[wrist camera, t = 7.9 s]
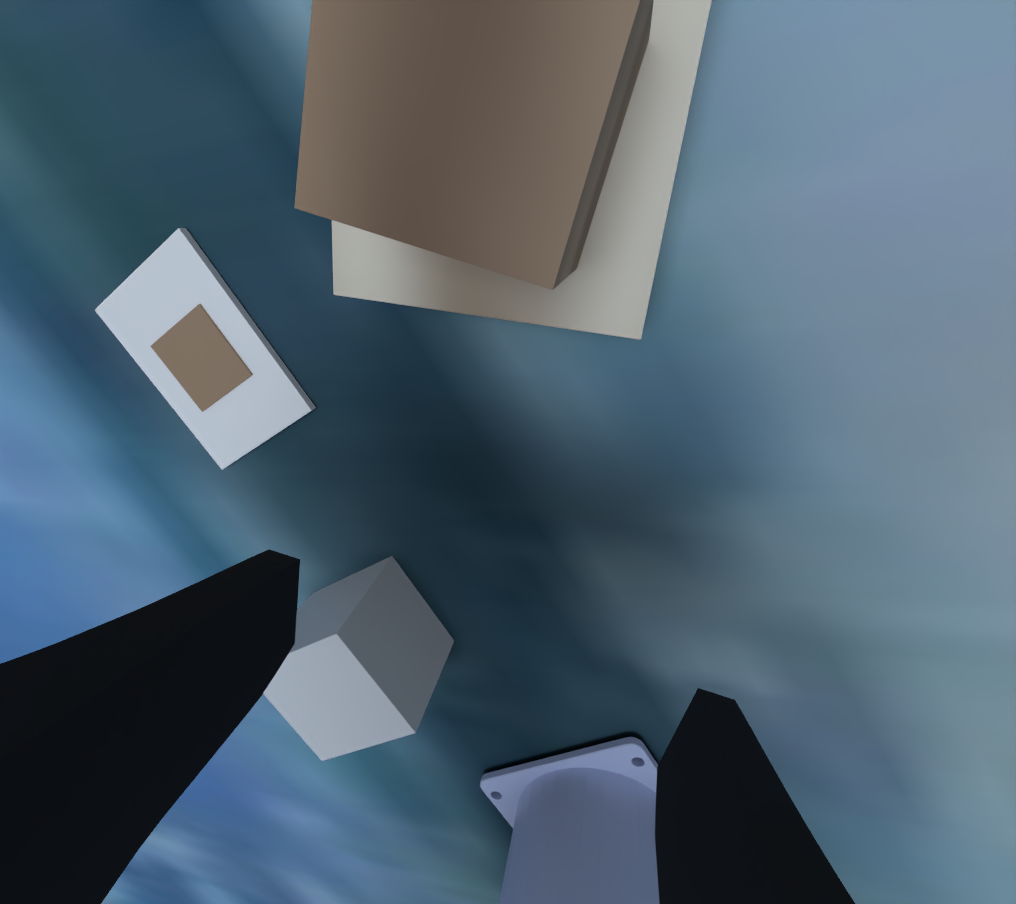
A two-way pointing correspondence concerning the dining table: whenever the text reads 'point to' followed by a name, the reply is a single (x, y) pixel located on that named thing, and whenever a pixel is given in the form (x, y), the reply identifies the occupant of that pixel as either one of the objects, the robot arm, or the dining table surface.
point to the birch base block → (613, 231)
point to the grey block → (361, 662)
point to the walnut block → (469, 123)
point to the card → (203, 351)
